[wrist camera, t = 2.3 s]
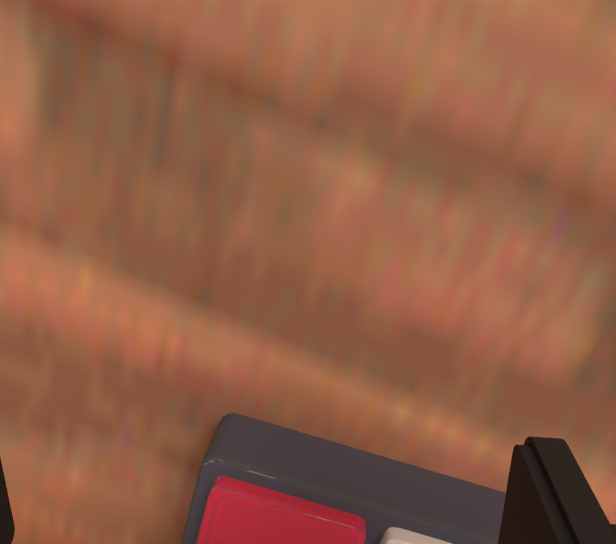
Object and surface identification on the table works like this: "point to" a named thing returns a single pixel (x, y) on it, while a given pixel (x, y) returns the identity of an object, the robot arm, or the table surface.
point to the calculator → (328, 494)
